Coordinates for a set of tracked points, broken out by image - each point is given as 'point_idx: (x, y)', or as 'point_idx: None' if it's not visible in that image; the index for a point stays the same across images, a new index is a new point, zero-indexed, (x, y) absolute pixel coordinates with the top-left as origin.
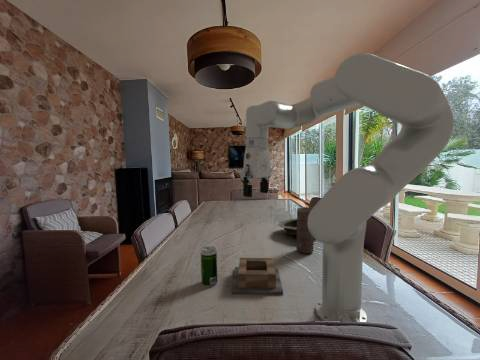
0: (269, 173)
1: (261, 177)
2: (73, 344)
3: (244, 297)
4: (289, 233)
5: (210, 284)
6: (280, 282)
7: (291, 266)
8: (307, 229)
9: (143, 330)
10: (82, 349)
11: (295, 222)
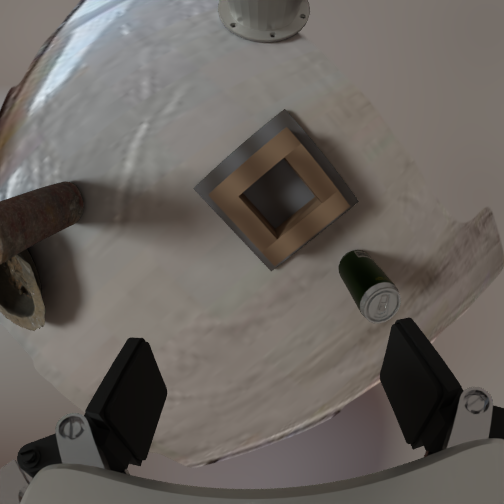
0: (51, 497)
1: (345, 489)
2: (498, 272)
3: (348, 170)
4: (40, 285)
5: (366, 253)
6: (254, 134)
7: (154, 172)
8: (34, 200)
9: (472, 237)
10: (500, 259)
11: (6, 303)
